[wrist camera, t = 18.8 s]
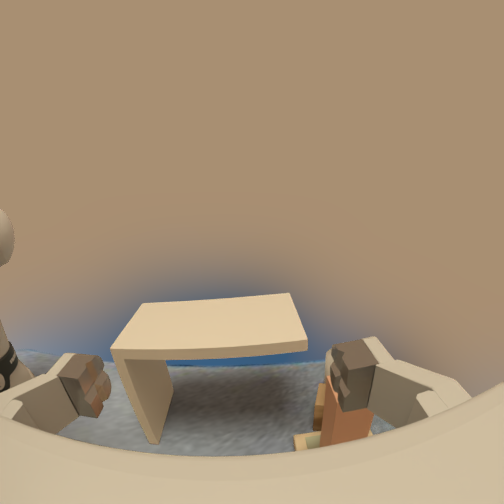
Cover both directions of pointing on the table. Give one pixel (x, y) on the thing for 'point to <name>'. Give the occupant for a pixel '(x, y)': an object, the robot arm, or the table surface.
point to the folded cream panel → (197, 344)
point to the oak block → (319, 407)
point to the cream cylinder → (328, 364)
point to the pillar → (342, 420)
